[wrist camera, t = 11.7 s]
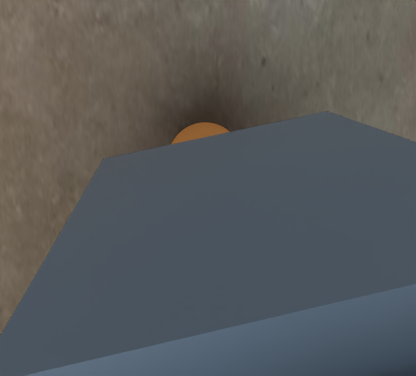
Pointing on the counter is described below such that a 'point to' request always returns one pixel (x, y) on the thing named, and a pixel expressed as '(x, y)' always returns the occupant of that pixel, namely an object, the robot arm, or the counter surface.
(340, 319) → the slate blue square block
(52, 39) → the counter surface
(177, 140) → the ball
